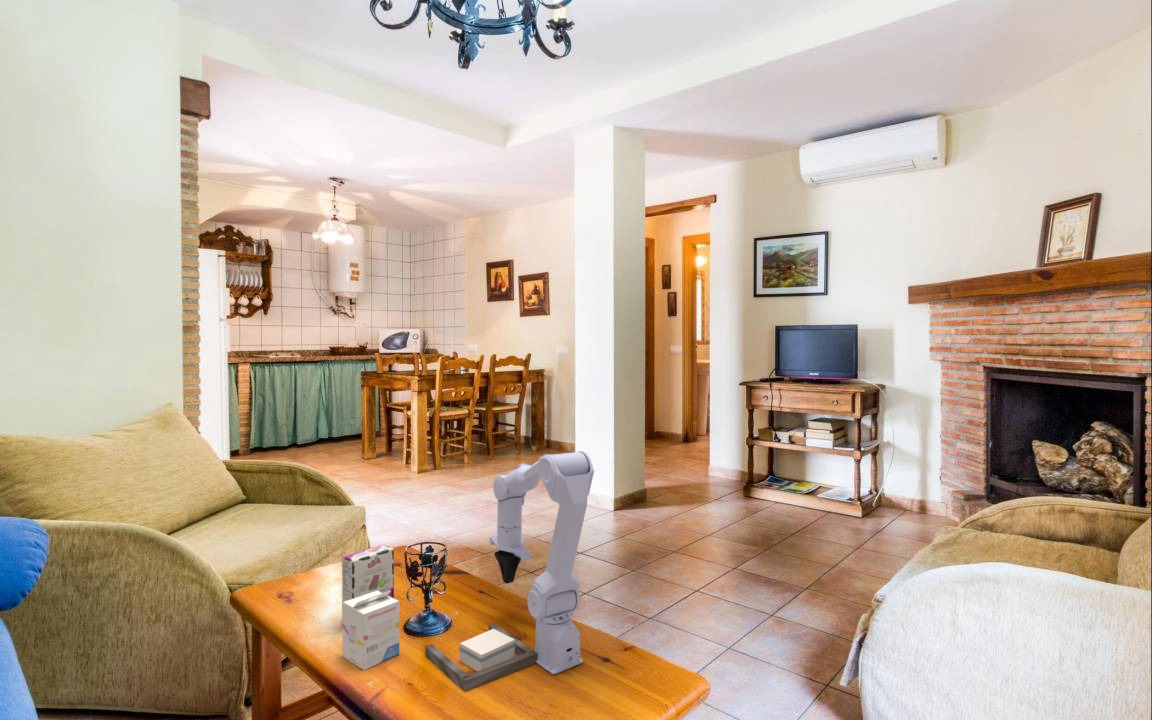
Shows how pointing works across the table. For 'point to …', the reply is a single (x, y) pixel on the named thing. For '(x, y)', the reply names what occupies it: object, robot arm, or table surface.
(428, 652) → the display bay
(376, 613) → the ink box
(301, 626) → the table surface
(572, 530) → the robot arm
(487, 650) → the carton
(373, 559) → the candy bar box
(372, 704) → the table surface
